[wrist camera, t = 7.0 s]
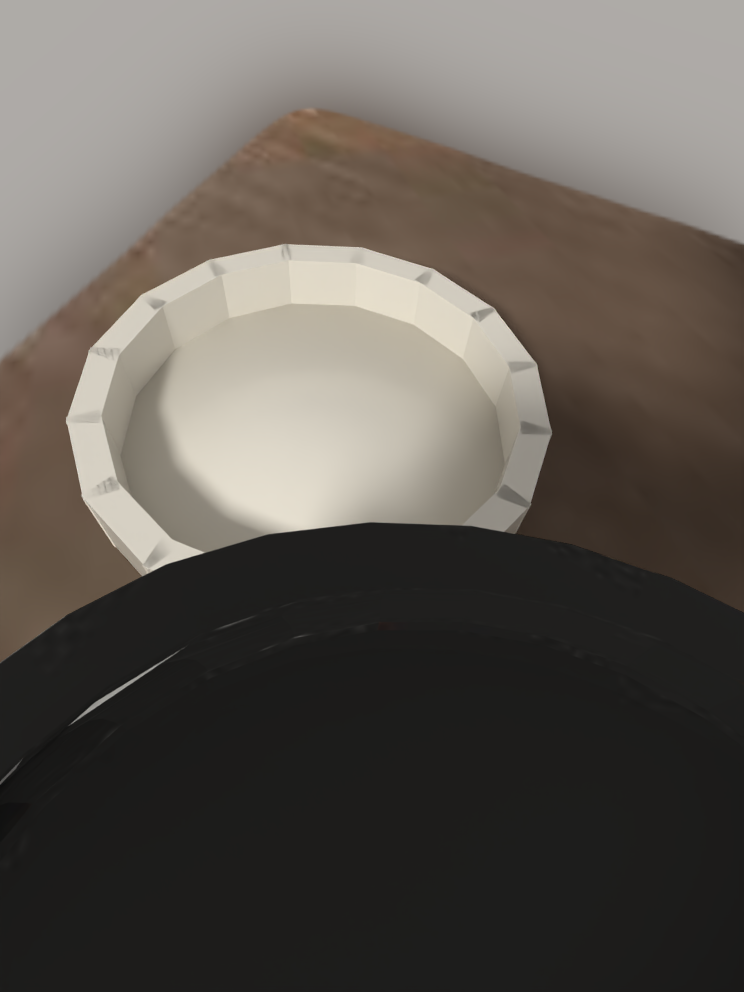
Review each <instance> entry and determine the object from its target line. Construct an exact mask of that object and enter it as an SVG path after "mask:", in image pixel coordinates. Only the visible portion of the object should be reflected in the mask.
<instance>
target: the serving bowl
mask: <svg viewBox="0 0 744 992" xmlns="http://www.w3.org/2000/svg"><path fill="white" fill-rule="evenodd" d="M88 352H89V354H88V357H87V360H86V363H85V366H84V369H83V372H82V375H81V378H80V381H79V384H78V387H77V390H76V393H75V396H74V399H73V402H72V405H71V408H70V411H69V414H68V417H66V419H67V420H66V424H67V425H68V429H69V434H70V438H71V443H72V448H73V453H74V457H75V462H76V467H77V472H78V476H79V481H80V486H81V491H82V495H81V496H82V498H83V500H84V502H85V503H86V505H87V506H88V508H89V509H90V511H91V512H92V514H93V515H94V517H95V518H96V520H97V521H98V523H99V524H100V526H101V527H102V529H103V530H104V532H105V533H106V535H107V536H108V538H109V539H110V541H111V542H112V544H113V545H114V547H117V548H118V550H119V551H120V552H121V553H122V554H123V555H124V556H125V557H126V559H127V560H128V561H129V562H130V563H131V564H132V565H133V566H134V568H135V569H136V570H137V571H138V572H139V573H140V574H141V575H142V576H144V575H146V574H148V573H150V572H152V571H154V570H156V569H158V568H160V567H162V566H164V565H166V564H169V563H172V562H175V561H179V560H182V559H186V558H189V557H192V556H196V555H199V554H203V553H206V552H209V551H213V550H216V549H220V548H223V547H226V546H230V545H233V544H237V543H240V542H243V541H247V540H250V539H253V538H257V537H260V536H264V535H267V534H274V533H283V532H291V531H300V530H308V529H317V528H325V527H334V526H342V525H351V524H359V523H368V522H378V523H405V524H433V525H461V526H475V527H480V528H486V529H491V530H496V531H502V532H507V533H513V534H516V532H517V530H518V528H519V526H520V524H521V523H522V521H523V519H524V517H525V515H526V513H527V512H528V510H529V508H530V506H531V500H532V497H533V493H534V490H535V486H536V483H537V480H538V476H539V473H540V470H541V466H542V463H543V460H544V456H545V453H546V450H547V446H548V443H549V440H550V438H551V436H552V430H551V427H550V423H549V418H548V414H547V409H546V405H545V400H544V396H543V391H542V386H541V382H540V377H539V373H538V368H537V367H538V365H537V364H536V362H535V361H534V360H533V359H532V357H531V356H530V355H529V354H528V352H527V351H526V350H525V348H524V347H523V346H522V344H521V343H520V342H519V340H518V339H517V338H516V337H515V335H514V334H513V333H512V331H511V330H510V329H509V327H508V326H507V325H506V323H505V322H504V321H503V320H502V318H501V317H500V316H499V314H498V313H497V312H496V309H494V308H493V307H491V306H489V305H488V304H486V303H485V302H483V301H482V300H480V299H479V298H477V297H475V296H474V295H472V294H471V293H469V292H468V291H466V290H465V289H463V288H462V287H460V286H458V285H457V284H455V283H454V282H452V281H451V280H449V279H448V278H446V277H445V276H443V275H441V274H440V273H438V272H437V271H436V270H434V269H432V268H428V267H424V266H421V265H418V264H414V263H411V262H408V261H404V260H401V259H398V258H394V257H391V256H388V255H384V254H381V253H378V252H374V251H371V250H368V249H365V248H361V247H336V246H313V245H290V244H282V245H279V246H274V247H269V248H265V249H260V250H255V251H250V252H245V253H240V254H236V255H231V256H226V257H221V258H216V259H210V260H207V261H206V262H204V263H202V264H201V265H199V266H197V267H195V268H193V269H191V270H189V271H187V272H185V273H183V274H181V275H179V276H177V277H175V278H174V279H172V280H170V281H168V282H166V283H164V284H162V285H160V286H158V287H156V288H154V289H152V290H150V291H148V292H147V293H145V294H142V295H141V296H139V298H138V299H137V300H136V301H135V302H134V304H133V305H132V306H131V307H130V308H129V309H128V310H127V311H126V312H125V313H124V314H123V315H122V316H121V317H120V318H119V319H118V320H117V322H116V323H115V324H114V325H113V326H112V327H111V328H110V329H109V330H108V331H107V332H106V333H105V334H104V335H103V336H102V337H101V338H100V340H99V341H98V342H97V343H96V344H95V345H94V346H93V347H91V348H90V350H89V351H88Z"/></svg>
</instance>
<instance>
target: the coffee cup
mask: <svg viewBox="0 0 744 992" xmlns="http://www.w3.org/2000/svg"><path fill="white" fill-rule="evenodd" d="M0 992H744V613H743V612H741V611H739V610H737V609H735V608H733V607H731V606H729V605H726V604H724V603H722V602H720V601H718V600H716V599H714V598H712V597H710V596H708V595H706V594H704V593H702V592H700V591H698V590H696V589H694V588H691V587H689V586H687V585H685V584H683V583H681V582H679V581H677V580H675V579H673V578H670V577H667V576H664V575H661V574H658V573H655V572H652V571H649V570H647V569H644V568H641V567H638V566H635V565H632V564H629V563H626V562H623V561H620V560H617V559H614V558H611V557H608V556H605V555H602V554H599V553H596V552H593V551H590V550H587V549H584V548H581V547H578V546H575V545H572V544H567V543H561V542H556V541H551V540H545V539H540V538H534V537H529V536H523V535H518V534H513V533H507V532H502V531H496V530H491V529H486V528H480V527H475V526H461V525H433V524H405V523H378V522H368V523H359V524H351V525H342V526H334V527H325V528H317V529H308V530H300V531H291V532H283V533H274V534H267V535H264V536H260V537H257V538H253V539H250V540H247V541H243V542H240V543H237V544H233V545H230V546H226V547H223V548H220V549H216V550H213V551H209V552H206V553H203V554H199V555H196V556H192V557H189V558H186V559H182V560H179V561H175V562H172V563H169V564H166V565H164V566H162V567H160V568H158V569H156V570H154V571H152V572H150V573H148V574H146V575H144V576H142V577H140V578H138V579H136V580H134V581H132V582H130V583H128V584H127V585H125V586H123V587H121V588H119V589H117V590H115V591H113V592H111V593H109V594H107V595H105V596H103V597H101V598H99V599H97V600H95V601H93V602H91V603H89V604H87V605H85V606H83V607H81V608H80V609H78V610H76V611H74V612H72V613H70V614H68V615H66V616H65V617H63V618H62V619H61V620H59V621H58V622H56V623H55V624H54V625H52V626H51V627H49V628H48V629H47V630H45V631H44V632H42V633H41V634H40V635H38V636H37V637H35V638H34V639H33V640H31V641H30V642H28V643H27V644H26V645H24V646H23V647H21V648H20V649H19V650H17V651H16V652H14V653H13V654H12V655H10V656H9V657H7V658H6V659H5V660H3V661H2V662H0Z"/></svg>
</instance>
